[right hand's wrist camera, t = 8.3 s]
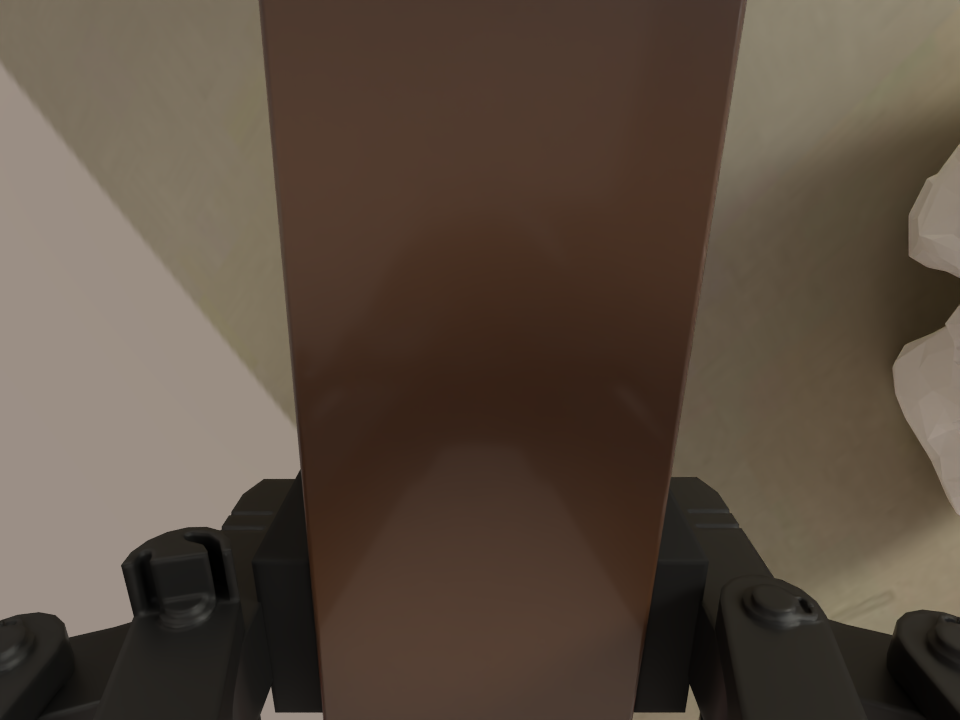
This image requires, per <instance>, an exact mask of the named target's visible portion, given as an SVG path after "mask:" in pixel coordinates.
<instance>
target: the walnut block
mask: <svg viewBox="0 0 960 720" xmlns="http://www.w3.org/2000/svg"><path fill="white" fill-rule="evenodd" d="M746 4H747V0H259V11H260V22H261V33H262V44H263V55H264V66H265V77H266V89H267V100H268V111H269V122H270V133H271V144H272V155H273V166H274V177H275V189H276V200H277V211H278V222H279V233H280V244H281V255H282V266H283V277H284V289H285V300H286V311H287V322H288V333H289V344H290V355H291V366H292V377H293V388H294V400H295V411H296V422H297V433H298V444H299V455H300V466H301V477H302V488H303V500H304V511H305V522H306V533H307V544H308V555H309V566H310V577H311V588H312V600H313V611H314V622H315V633H316V644H317V655H318V666H319V677H320V688H321V699H322V711H323V720H632V718H633V711H634V705H635V699H636V693H637V686H638V680H639V674H640V668H641V661H642V655H643V649H644V643H645V636H646V630H647V624H648V618H649V611H650V605H651V599H652V592H653V586H654V580H655V574H656V567H657V561H658V555H659V549H660V542H661V536H662V530H663V524H664V517H665V511H666V505H667V499H668V492H669V486H670V480H671V473H672V467H673V461H674V455H675V448H676V442H677V436H678V430H679V423H680V417H681V411H682V405H683V398H684V392H685V386H686V380H687V373H688V367H689V361H690V355H691V348H692V342H693V336H694V329H695V323H696V317H697V311H698V304H699V298H700V292H701V286H702V279H703V273H704V267H705V261H706V254H707V248H708V242H709V236H710V229H711V223H712V217H713V211H714V204H715V198H716V192H717V185H718V179H719V173H720V167H721V160H722V154H723V148H724V142H725V135H726V129H727V123H728V117H729V110H730V104H731V98H732V92H733V85H734V79H735V73H736V66H737V60H738V54H739V48H740V41H741V35H742V29H743V23H744V16H745V10H746Z"/></svg>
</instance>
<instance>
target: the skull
mask: <svg viewBox="0 0 960 720" xmlns="http://www.w3.org/2000/svg"><path fill="white" fill-rule="evenodd" d="M909 257H911V258H913V259H914V260H916V261H918V262H919V263H921V264H922V265H924V266H926V267H928V268H933V269H937V270H942V271H947V272H949V273H951V274H953V275H955V276H957V277H959V278H960V144H959V145H958V146H957V148H956V149H955V150H954V152H953V153H952V154H951V156H950V157H949V159H948V160H947V161H946V163H945V164H944V165H943V167H942V168H941V169H940V171H939V172H938V173H937V174H935V175H933V176H931V177H929V178H927V180H926V182H925V184H924V186H923V188H922V190H921V192H920V194H919V195H918V197H917V199H916V201H915V203H914V205H913V207H912V209H911V211H910V213H909ZM945 325H946V326H945V327H943V328H941V329H939V330H938V331H936V332H934V333H931V334H929V335H927V336H924V337H922V338H919V339H917V340H914V341H912V342H910V343H908V344H905V345H904V347H903V349H902V350H901V352H900V354H899V356H898V357H897V359H896V361H895V363H894V365H893V367H892V369H893V379H894V388H895V395H896V397H897V399H898V402H899V404H900V407H901V409H902V412H903V414H904V416H905V419H906V420H907V422H908V423H909V425H910V427H911V428H912V430H913V432H914V433H915V435H916V437H917V438H918V440H919V442H920V443H921V445H922V447H923V448H924V450H925V451H926V453H927V455H928V456H929V458H930V460H931V462H932V464H933V466H934V469H935V471H936V473H937V475H938V478H939V480H940V482H941V485H942V487H943V489H944V491H945V494H946V496H947V498H948V500H949V502H950V504H951V505H952V507H953V508H954V510H955V512H956V513H957V514H958V515H960V305H959V306H958V307H957V309H956V310H955V311H954V313H953V314H952V315H951V317H950V318H949V319H948V321H947V322H946V323H945Z"/></svg>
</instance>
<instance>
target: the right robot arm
mask: <svg viewBox="0 0 960 720" xmlns="http://www.w3.org/2000/svg"><path fill="white" fill-rule="evenodd" d="M231 513H232V514H231V515H230V516H228V518H227V519H226V521H225V523H224V524H223V526H222V530H216V529H212V528H208V527H188V528H183V529H179V530H174V531H170V532H166V533H164V534H162V535H160V536H157V537H155V538H153V539H150V540H148V541H146V542H145V543H144V544H142V545H141V546H139V547H138V548H137V549H135V550H134V551H132V552H131V553H130V554H129V556H128V557H127V558H126V560H125V561H124V562H123V564H122V565H121V567H122V571H123V575H124V578H125V583H126V587H127V590H128V595H129V599H130V602H131V607H132V611H133V615H134V618H133V620H132V622H130V623H127V624H124V625H120V626H117V627H113V628H109V629H104V630H100V631H96V632H91V633H87V634H83V635H78V636H74V637H70V638H69V637H68V634H67V631H66V627H65V624H64V623H63V622H62V621H61V620H60V619H59V618H58V617H57V616H56V615H51V614H46V613H40V612H37V613H29V614H21V615H16V616H13V617H10V618H7V619H4V620H1V621H0V720H261V717H260V714H261V711H262V708H263V706H264V703H265V701H266V698H267V695H268V693H269V690H270V687H271V688H272V694H273V701H274V707H275V712H323V711H322V699H321V688H320V677H319V666H318V655H317V644H316V633H315V622H314V611H313V600H312V588H311V577H310V566H309V555H308V544H307V533H306V522H305V511H304V500H303V488H302V477H301V469H300V471H299V473H298V475H297V477H296V479H263V480H262V481H261V482H259V483H258V484H257V485H255V486H254V487H252V488H251V489H250V490H248V491H247V492H245V493H244V494H243V495H242V497H241V498H240V500H239V501H238V503H237V504H236V506H235V507H234V509H233V510H232V512H231ZM689 684H690V686H691V689H692V691H693V694H694V697H695V699H696V702H697V704H698V707H699V710H700V716H699V720H960V617H956V616H954V615H950V614H947V613H944V612H937V611H929V610H918V611H912V612H907V613H905V614H904V615H903V616H902V617H901V618H900V619H898V620H897V622H896V626H895V629H894V632H893V635H889V634H885V633H880V632H876V631H872V630H867V629H863V628H859V627H854V626H850V625H846V624H842V623H839V622H836V621H832V620H829V619H827V617H826V615H825V613H824V612H823V610H822V609H821V607H820V606H819V604H818V603H817V602H816V601H815V600H814V599H813V598H811V597H810V596H809V595H808V594H806V593H805V592H804V591H803V590H801V589H800V588H798V587H795V586H793V585H791V584H789V583H787V582H785V581H783V580H780V579H776V578H774V577H773V575H772V574H771V572H770V571H769V569H768V568H767V566H766V565H765V563H764V562H763V560H762V559H761V557H760V556H759V554H758V553H757V551H756V550H755V548H754V547H753V545H752V544H751V542H750V540H749V539H748V537H747V536H746V534H745V533H744V531H743V530H742V528H739V524H738V522H737V521H736V519H735V518H734V516H733V515H732V513H729V509H728V507H727V506H726V504H725V503H724V501H723V500H722V498H721V497H720V495H719V494H718V492H717V491H715V490H714V489H712V488H711V487H710V486H708V485H707V484H705V483H704V482H703V481H701V480H700V479H699V478H697V477H671V480H670V486H669V492H668V499H667V505H666V511H665V517H664V524H663V530H662V536H661V542H660V549H659V555H658V561H657V567H656V574H655V580H654V586H653V592H652V599H651V605H650V611H649V618H648V624H647V630H646V636H645V643H644V649H643V655H642V661H641V668H640V674H639V680H638V686H637V693H636V699H635V705H634V712H685V709H686V703H687V697H688V690H689Z"/></svg>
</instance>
